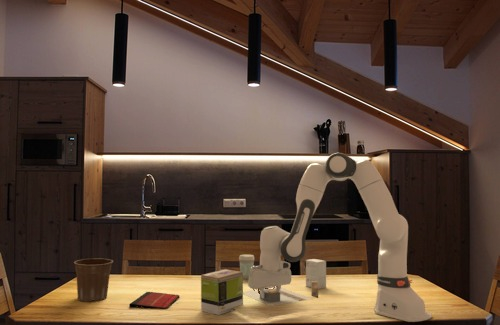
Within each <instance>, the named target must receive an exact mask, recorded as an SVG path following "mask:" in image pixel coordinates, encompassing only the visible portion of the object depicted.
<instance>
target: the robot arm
mask: <svg viewBox="0 0 500 325" xmlns="http://www.w3.org/2000/svg"><path fill="white" fill-rule="evenodd" d="M347 180H351V181H352V182H353V183H354V184H355V187H356V188H357V190H358V193H359V194H360V197H361V199H362V200H363V203H364V205H365V207H366V209H367V211H368V214H369V218H370V220H371V222H372V225H373V227H374V230H375V233H376V235H377V237H378V239H379V248H378V250H379V251H378V256H377V257H378V260H377V261H378V263H377V264H378V269H377V270H378V273H377V275H376V276H377V278H376V279H377V280H376V283H377V292H376V298H375V300H376V301H375V305H374V308H373V309H374V314H375V315H380V316H384V317H388V318H392V319H397V320H400V321H405V322H408V323H411V322H412V323H415V322H423V321H427V320H430V319H432V318H433V317H432V313H430V312H428V311H426V305H425V304H426V303H425V301H424V299H423V298H422V297H421V296H420V295H419V294H418V293H417V291H415V290H414V289H413V288H412V286H411V284H412V283H414V282H413V279H409V277H408V275H407V274H408V273H407V272H408V269H407V267H408V266H407V264H408V263H407V262H408V261H407V260H408V259H407V258H408V241H409V224H408V220H407V219H406V218H405V217H404V216H403V215H402V214H399V212H398V209H397V207H396V204H395V201H394V200H393V196H392V195H391V194H392V193H391V192H390V190H389V188H388V187H387V184H386V183H385V181H384V179H383V177H382V175H381V174H380V172H379V170H378V169H377V168H376V166H375V165H374V164H373V162H372V161H370V160H368V159H361V160H359V161H356V160H355V159H353V158H352V157H350V156H349V155H347V154H345V153H342V152H334V153H331V155H329V156H328V157H327V159H326V161H325V163H324V164H320V163H310V164H309V165H308V166H307V168H306V170H305V171H304V173H303V175H302V177H301V179H300V182H299V184H298V186H297V187H298V188H297V191H296V195H295V196H296V197H295V203H296V216H295V218H294V222H293V225H292V228H291V231H290V232H288V231H286V230H284V229H282V228H280V227H279V226H277V225H271V226H270V225H269V226H266V227H264V228H263V229H262V230H261V233H260V240H259V248H260V256H259V265H253V266H252V268H250V270H249V279H248V282H247V283H248V286H247V287H249V288H250V289H251V290H257V289H259V291H260V293H261V298H266V294H265V293H264V291H263V290H264V289H265V288H272V287H277V288H276V290H275V291H277V292H279V291H280V289H281V288H282V286H286V285H287V286H289V285H291V282H292V271H291V269H290V268H291V263H297V262H299V261H301V260H302V259H303V258H304V257H305V254H306V250H307V249H306V238H307V234H308V232H309V227H310V226H311V221H312V219H313V216H314V214H315V213H316V210H317V208H318V207H319V205H320V202H321V201H322V198H323V195H324V193H325V190H326V187H327V184H328V183H329V182H346V181H347ZM281 256H282V258H283V259H284V260H285V261H284V260H282V259H281ZM287 261H288V262H287Z"/></svg>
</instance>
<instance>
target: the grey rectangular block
mask: <svg viewBox="0 0 500 325" xmlns="http://www.w3.org/2000/svg"><path fill="white" fill-rule="evenodd" d="M263 291H264V293H265V294H266V298H261V293H260V299H263V300H265V301H268V302H270V303H271V302H277V301H280V292H277V291H274V290H272V289H265V288H264V290H263Z"/></svg>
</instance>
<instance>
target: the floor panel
mask: <svg viewBox="0 0 500 325" xmlns="http://www.w3.org/2000/svg"><path fill="white" fill-rule="evenodd" d="M274 287H275V288H274V289H273V290H274V291H275V290H276V288H277V287H276V286H274ZM254 290H255V289H251V290H243V296H244V295H245V296H246V297H249V298H251V299H254V300H255V301H258V302H261V303H263V304H265V305H268V306H270V307H272V306H277V305H283V304H290V303H297V302H302V301H307V300H308V301H309V300H313V298H311V297H309V296H306V295H303V294H300V293H297V292H295V291H292V290H289V289H286V288H283V287H281V289H280V291H279V292H280V301H277V302H271V303H270V302H268V301H265V300H263V299H260V294H259V293H258V292H257V291H254Z"/></svg>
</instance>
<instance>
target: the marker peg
mask: <svg viewBox="0 0 500 325" xmlns="http://www.w3.org/2000/svg"><path fill="white" fill-rule="evenodd" d="M311 296H312V297H315V298H319V289H318V281H312V287H311Z"/></svg>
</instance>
